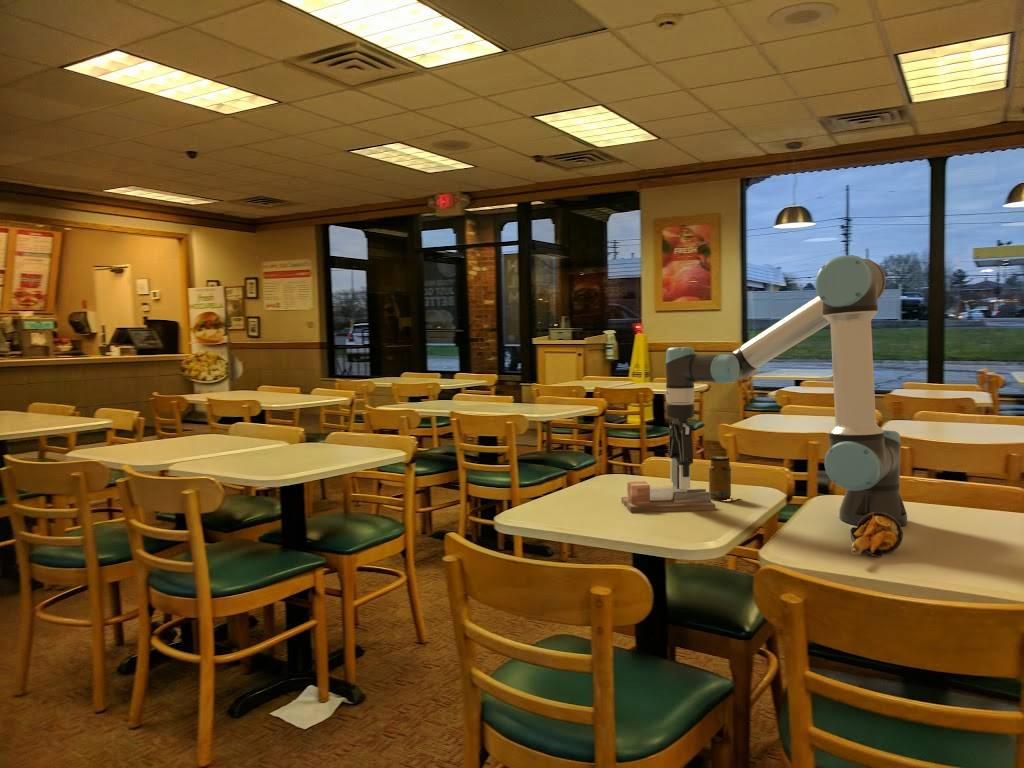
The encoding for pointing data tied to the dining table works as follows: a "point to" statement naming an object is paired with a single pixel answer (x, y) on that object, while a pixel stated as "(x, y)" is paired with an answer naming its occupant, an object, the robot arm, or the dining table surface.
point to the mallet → (669, 491)
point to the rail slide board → (641, 499)
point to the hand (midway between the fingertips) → (680, 485)
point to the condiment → (720, 478)
